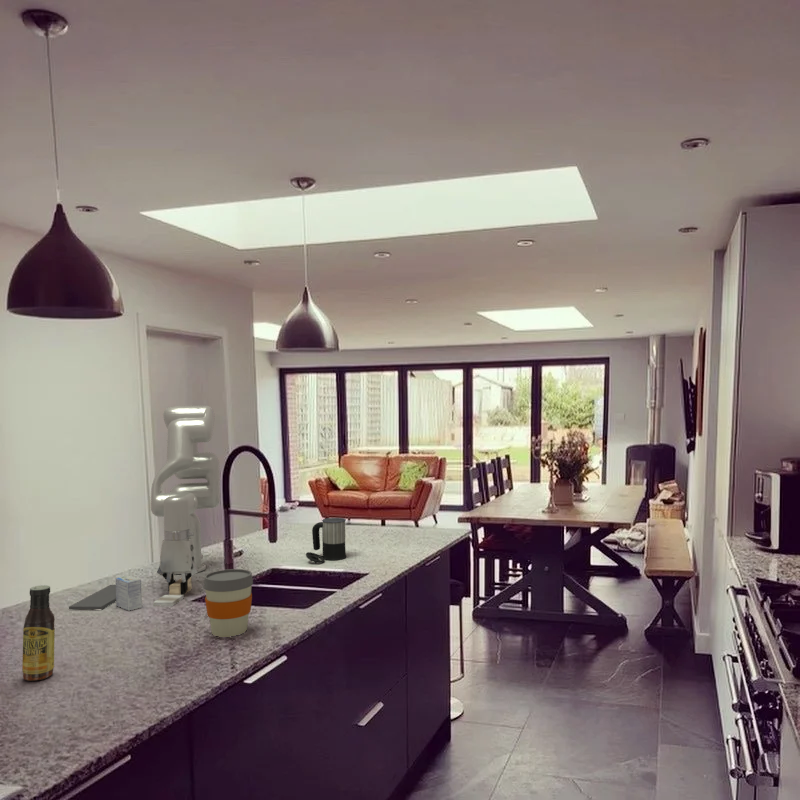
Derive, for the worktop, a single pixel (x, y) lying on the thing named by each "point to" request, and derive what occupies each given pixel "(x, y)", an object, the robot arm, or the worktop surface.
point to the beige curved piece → (173, 594)
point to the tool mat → (97, 599)
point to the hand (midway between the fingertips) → (178, 593)
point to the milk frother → (329, 540)
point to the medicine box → (128, 592)
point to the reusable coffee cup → (228, 601)
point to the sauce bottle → (38, 636)
